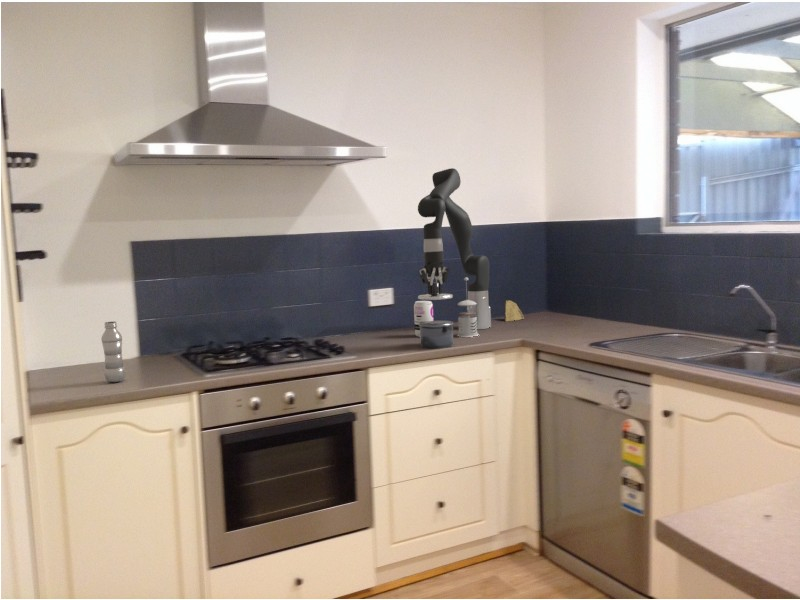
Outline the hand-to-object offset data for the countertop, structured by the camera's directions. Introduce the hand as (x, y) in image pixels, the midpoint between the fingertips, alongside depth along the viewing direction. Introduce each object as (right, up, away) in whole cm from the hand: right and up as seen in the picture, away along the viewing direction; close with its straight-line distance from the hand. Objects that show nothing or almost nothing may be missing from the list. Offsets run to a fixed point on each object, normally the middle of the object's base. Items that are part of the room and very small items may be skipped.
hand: (435, 294), depth 265 cm
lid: (0, -2, 0) cm, 2 cm away
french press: (+16, -18, +24) cm, 33 cm away
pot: (+1, -20, +2) cm, 20 cm away
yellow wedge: (+42, -12, +64) cm, 78 cm away
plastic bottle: (-108, -30, -41) cm, 120 cm away
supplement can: (-3, -18, +28) cm, 33 cm away
